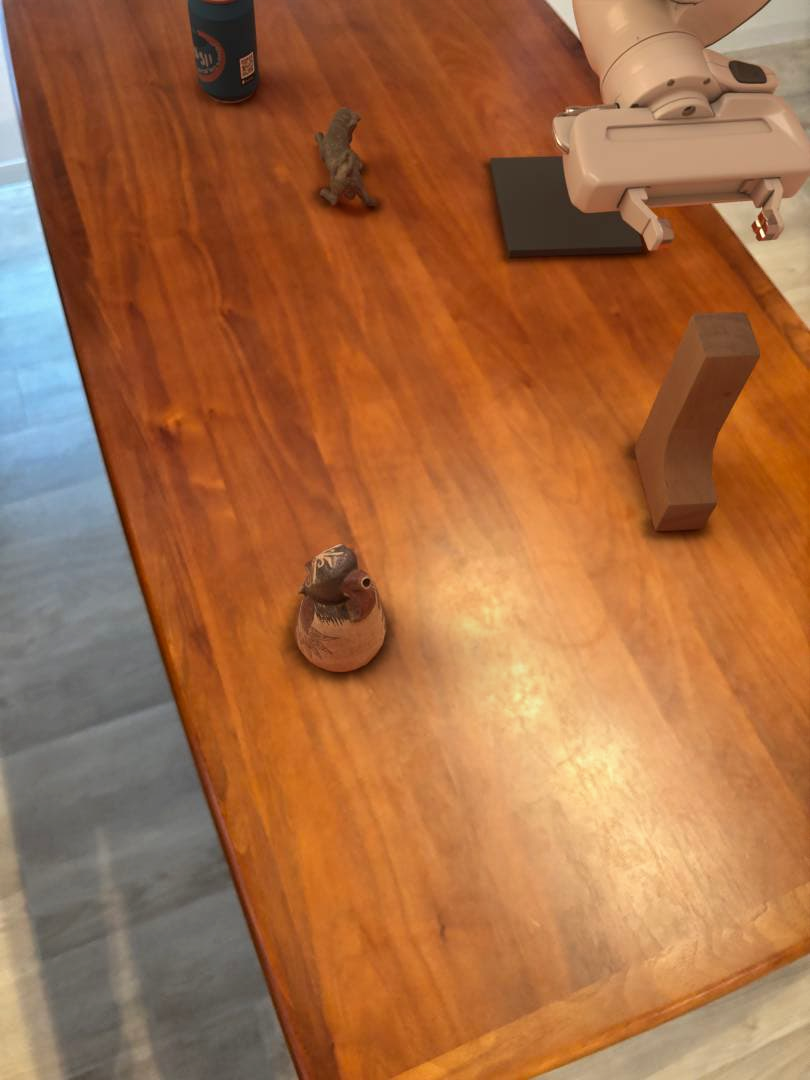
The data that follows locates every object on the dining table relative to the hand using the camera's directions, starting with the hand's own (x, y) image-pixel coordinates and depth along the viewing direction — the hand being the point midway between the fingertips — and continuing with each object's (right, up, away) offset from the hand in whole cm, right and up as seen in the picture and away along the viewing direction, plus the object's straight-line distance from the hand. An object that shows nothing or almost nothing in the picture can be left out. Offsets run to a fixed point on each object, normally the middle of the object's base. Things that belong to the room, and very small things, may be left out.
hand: (717, 240), depth 78 cm
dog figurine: (-31, +15, +30) cm, 46 cm away
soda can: (-44, +28, +37) cm, 64 cm away
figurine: (-29, -31, +4) cm, 43 cm away
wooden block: (-1, -19, +13) cm, 22 cm away
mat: (-7, +12, +30) cm, 33 cm away
